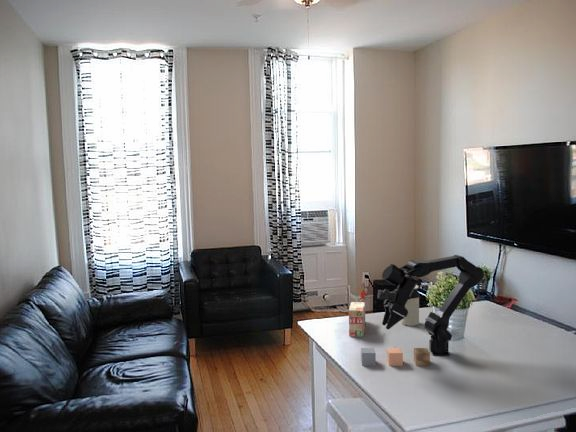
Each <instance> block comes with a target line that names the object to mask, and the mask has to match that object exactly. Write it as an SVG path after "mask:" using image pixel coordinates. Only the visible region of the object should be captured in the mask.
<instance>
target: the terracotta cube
mask: <svg viewBox="0 0 576 432" xmlns="http://www.w3.org/2000/svg"><path fill="white" fill-rule="evenodd" d="M386 351H387V353H386V358H387V359H386V361H387V363H388V366H390V367H393V366H394V367H395V366H399V367H403V366H404V365H403V363H404V360H403V359H404V356H403V355H404V354H403V351H402V348H401V347H387V350H386Z"/></svg>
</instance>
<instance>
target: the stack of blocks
mask: <svg viewBox="0 0 576 432" xmlns="http://www.w3.org/2000/svg"><path fill="white" fill-rule="evenodd" d="M348 325H349V326H348V329H349V330H348V337H349V336H352V337H351V338H354V337H355V338H364V336H365V335H364V334H365V326H366V303H365V302H363V301H361V302H359V301H357V302H356V301H352V302H350V304H349V308H348Z"/></svg>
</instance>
